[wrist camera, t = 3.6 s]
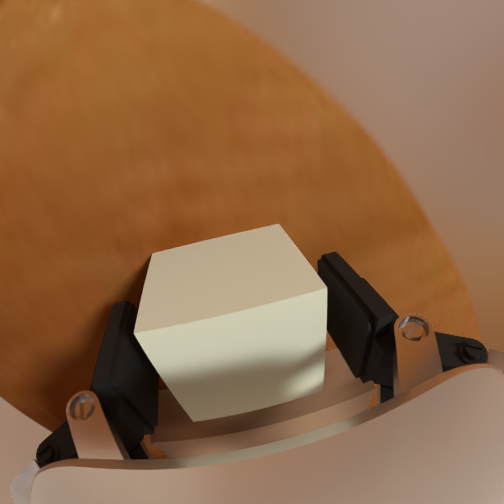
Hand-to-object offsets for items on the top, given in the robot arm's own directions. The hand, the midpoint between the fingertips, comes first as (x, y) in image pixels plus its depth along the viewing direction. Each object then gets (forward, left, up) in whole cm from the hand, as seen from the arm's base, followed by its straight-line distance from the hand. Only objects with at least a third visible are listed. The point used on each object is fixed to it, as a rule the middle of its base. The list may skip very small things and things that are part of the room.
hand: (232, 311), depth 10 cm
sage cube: (0, 0, -1) cm, 1 cm away
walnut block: (0, +12, -2) cm, 12 cm away
